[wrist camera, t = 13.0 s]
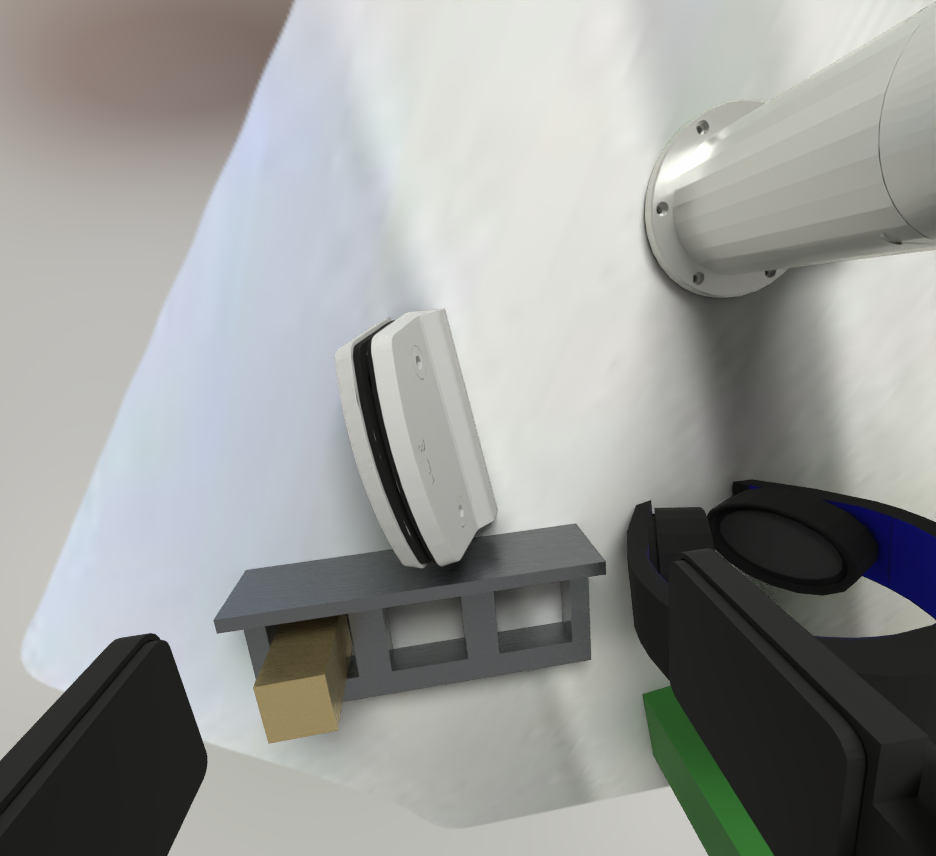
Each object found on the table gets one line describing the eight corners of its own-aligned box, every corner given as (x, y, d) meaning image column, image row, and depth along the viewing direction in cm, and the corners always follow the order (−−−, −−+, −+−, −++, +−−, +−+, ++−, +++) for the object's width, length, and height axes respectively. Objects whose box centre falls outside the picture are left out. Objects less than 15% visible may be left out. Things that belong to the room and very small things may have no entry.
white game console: (498, 514, 37) (472, 595, 28) (443, 521, 38) (400, 601, 29) (443, 302, 33) (390, 314, 23) (382, 318, 34) (310, 336, 25)
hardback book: (819, 640, 44) (1277, 1005, 21) (823, 702, 46) (1245, 1099, 23) (642, 694, 43) (914, 1141, 20) (653, 755, 45) (913, 1228, 22)
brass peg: (342, 599, 37) (324, 674, 29) (352, 646, 38) (337, 730, 30) (286, 609, 37) (253, 687, 29) (297, 655, 38) (268, 743, 30)
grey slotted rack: (575, 523, 38) (605, 561, 32) (580, 639, 41) (608, 693, 35) (245, 570, 35) (213, 620, 30) (273, 689, 38) (249, 756, 32)
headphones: (590, 577, 39) (762, 831, 20) (580, 506, 38) (759, 708, 18) (794, 529, 40) (1143, 724, 21) (794, 458, 39) (1172, 600, 20)
